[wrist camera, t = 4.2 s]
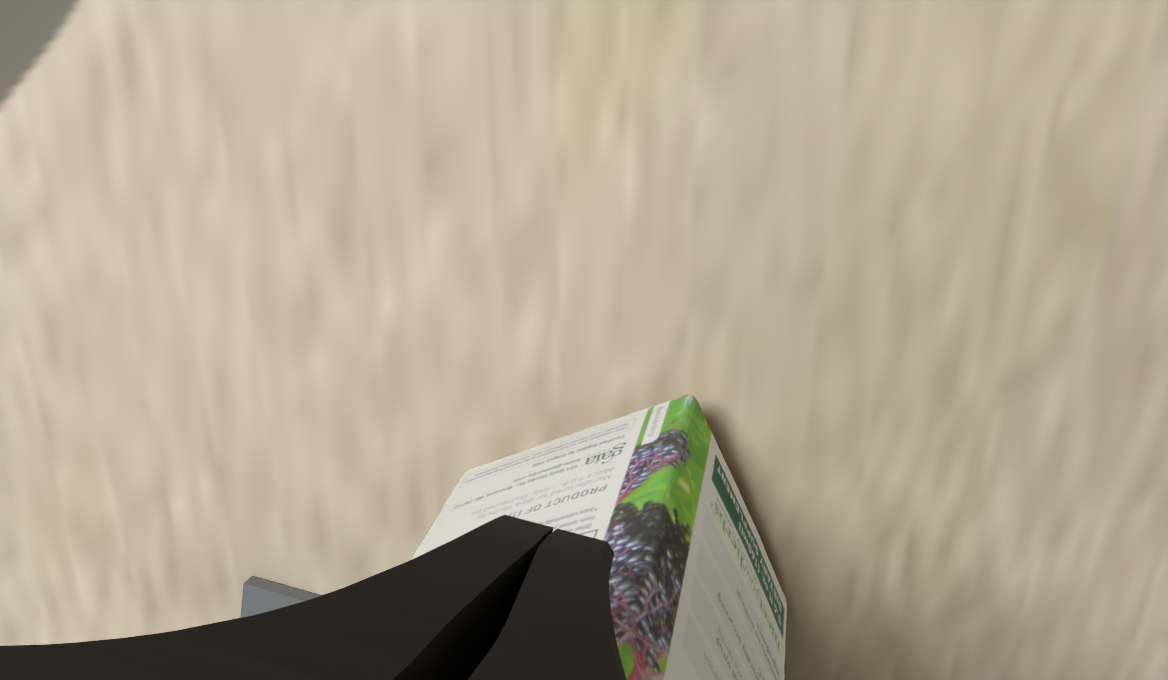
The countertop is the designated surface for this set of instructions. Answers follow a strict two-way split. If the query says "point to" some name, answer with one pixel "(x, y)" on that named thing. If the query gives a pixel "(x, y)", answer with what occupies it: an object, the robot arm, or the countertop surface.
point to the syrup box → (648, 539)
